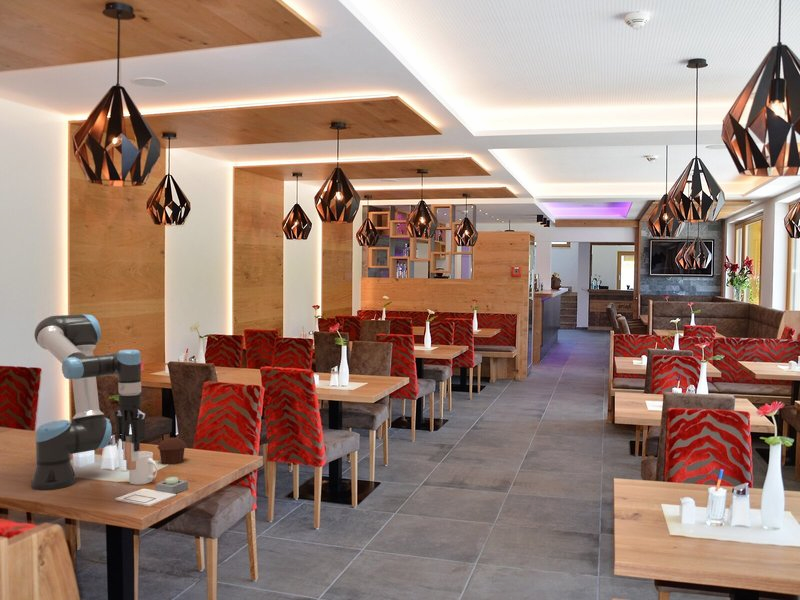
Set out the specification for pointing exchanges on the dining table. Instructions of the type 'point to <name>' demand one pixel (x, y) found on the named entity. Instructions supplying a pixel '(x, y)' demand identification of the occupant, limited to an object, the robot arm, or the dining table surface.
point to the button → (171, 480)
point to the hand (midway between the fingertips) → (131, 459)
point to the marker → (129, 454)
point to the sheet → (146, 497)
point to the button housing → (172, 487)
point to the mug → (143, 469)
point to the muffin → (172, 450)
